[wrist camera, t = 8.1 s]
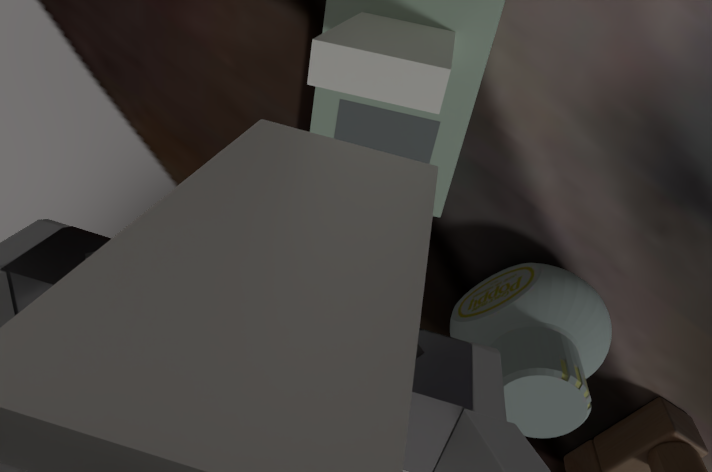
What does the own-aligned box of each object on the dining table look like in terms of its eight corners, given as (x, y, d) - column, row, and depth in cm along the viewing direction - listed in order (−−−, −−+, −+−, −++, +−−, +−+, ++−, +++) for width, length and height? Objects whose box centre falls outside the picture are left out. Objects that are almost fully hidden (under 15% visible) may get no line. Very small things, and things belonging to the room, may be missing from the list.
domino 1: (261, 119, 15) (-72, 385, 6) (438, 166, 15) (395, 530, 5) (255, 171, 16) (-38, 475, 7) (422, 217, 16) (361, 605, 6)
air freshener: (492, 367, 42) (499, 474, 33) (433, 300, 39) (424, 396, 31) (619, 312, 37) (666, 420, 28) (559, 232, 34) (590, 323, 26)
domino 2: (361, 11, 29) (312, 39, 20) (455, 31, 28) (451, 69, 19) (356, 43, 30) (307, 84, 20) (447, 63, 29) (439, 114, 20)
